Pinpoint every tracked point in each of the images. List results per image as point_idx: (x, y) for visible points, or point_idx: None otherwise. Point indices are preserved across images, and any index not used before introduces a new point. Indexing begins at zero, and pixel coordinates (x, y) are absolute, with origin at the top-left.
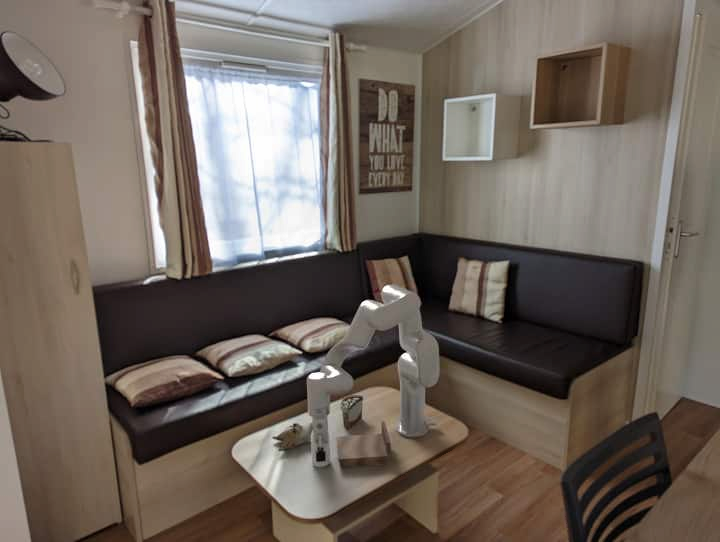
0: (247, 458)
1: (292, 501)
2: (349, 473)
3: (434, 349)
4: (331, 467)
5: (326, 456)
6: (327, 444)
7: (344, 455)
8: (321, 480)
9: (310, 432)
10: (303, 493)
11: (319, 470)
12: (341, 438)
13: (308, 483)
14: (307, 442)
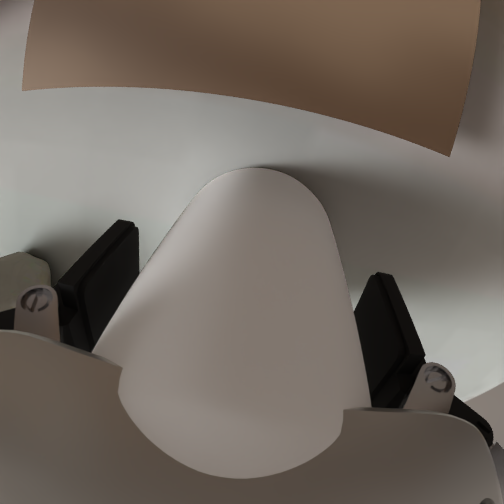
0: None
1: (467, 388)
2: (469, 81)
3: None
4: (354, 178)
5: (338, 255)
6: (350, 341)
7: (411, 65)
8: (444, 277)
9: (2, 300)
10: (462, 359)
11: (349, 267)
12: (54, 37)
13: (423, 338)
14: (50, 279)
